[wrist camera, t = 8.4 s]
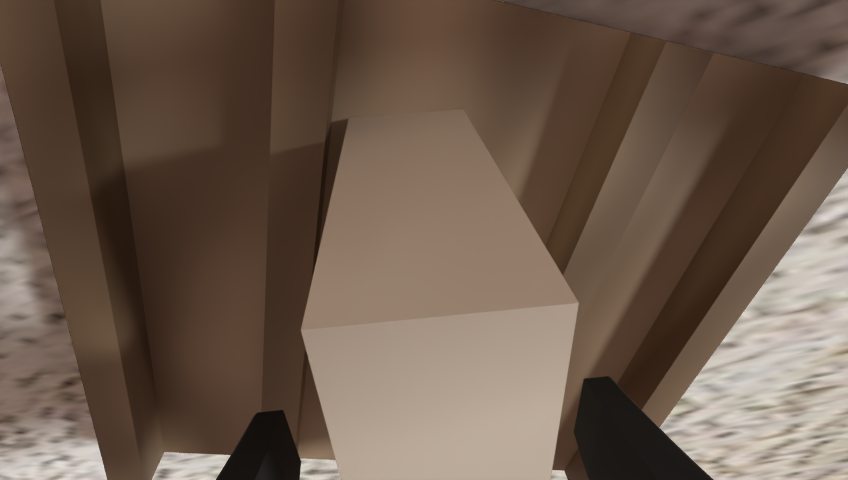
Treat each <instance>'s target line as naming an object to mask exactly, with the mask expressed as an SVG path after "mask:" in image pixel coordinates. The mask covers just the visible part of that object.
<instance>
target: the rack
mask: <svg viewBox="0 0 848 480" xmlns="http://www.w3.org/2000/svg"><path fill="white" fill-rule="evenodd" d="M0 63H1V67H2V70H3V74H4V78H5V82H6V86H7V90H8V94H9V98H10V102H11V106H12V109H13V113H14V117H15V121H16V125H17V129H18V133H19V137H20V141H21V145H22V148H23V152H24V156H25V160H26V164H27V168H28V172H29V176H30V180H31V183H32V187H33V191H34V195H35V199H36V203H37V207H38V211H39V215H40V219H41V222H42V226H43V230H44V234H45V238H46V242H47V246H48V250H49V254H50V258H51V261H52V265H53V269H54V273H55V277H56V281H57V285H58V289H59V293H60V297H61V300H62V304H63V308H64V312H65V316H66V320H67V324H68V328H69V332H70V336H71V339H72V343H73V347H74V351H75V355H76V359H77V363H78V367H79V371H80V374H81V378H82V382H83V386H84V390H85V394H86V398H87V402H88V406H89V410H90V413H91V417H92V421H93V425H94V429H95V433H96V437H97V441H98V445H99V449H100V452H101V456H102V460H103V464H104V468H105V472H106V476H107V480H152V477H153V475H154V473H155V471H156V469H157V466H158V464H159V462H160V460H161V458H162V455H163V453H164V452H179V453H200V454H222V455H231V454H232V453H233V451H234V449H235V448H236V446H237V444H238V442H239V441H240V439H241V437H242V436H243V434H244V432H245V430H246V429H247V427H248V425H249V423H250V422H251V420H252V418H253V416H254V415H255V414H256V413H257V412H267V411H276V410H284V413H285V416H286V419H287V422H288V425H289V428H290V431H291V434H292V437H293V440H294V443H295V446H296V449H297V451H298V454H299V457H300V458H308V459H329V460H336V459H335V455H334V451H333V448H332V444H331V440H330V437H329V433H328V429H327V426H326V422H325V418H324V414H323V411H322V407H321V403H320V400H319V396H318V392H317V388H316V385H315V381H314V377H313V374H312V370H311V366H310V362H309V359H308V355H307V351H306V348H305V344H304V340H303V336H302V333H301V327H302V323H303V318H304V314H305V309H306V305H307V301H308V296H309V292H310V287H311V283H312V279H313V274H314V270H315V265H316V261H317V257H318V252H319V248H320V243H321V239H322V235H323V230H324V226H325V221H326V217H327V212H328V208H329V204H330V199H331V195H332V190H333V186H334V182H335V177H336V173H337V168H338V164H339V160H340V155H341V151H342V146H343V142H344V137H345V133H346V129H347V124H348V120H349V118H359V117H371V116H384V115H396V114H409V113H422V112H434V111H447V110H459V109H463V110H464V111H465V113H466V115H467V116H468V118H469V120H470V121H471V123H472V125H473V126H474V128H475V130H476V131H477V133H478V135H479V136H480V138H481V140H482V141H483V143H484V145H485V146H486V148H487V150H488V151H489V153H490V155H491V156H492V158H493V160H494V162H495V163H496V165H497V167H498V168H499V170H500V172H501V173H502V175H503V177H504V178H505V180H506V182H507V183H508V185H509V187H510V188H511V190H512V192H513V193H514V195H515V197H516V198H517V200H518V202H519V203H520V205H521V207H522V208H523V210H524V212H525V213H526V215H527V217H528V218H529V220H530V222H531V224H532V225H533V227H534V229H535V230H536V232H537V234H538V235H539V237H540V239H541V240H542V242H543V244H544V245H545V247H546V249H547V250H548V252H549V254H550V255H551V257H552V259H553V260H554V262H555V264H556V265H557V267H558V269H559V270H560V272H561V274H562V275H563V277H564V279H565V280H566V282H567V284H568V286H569V287H570V289H571V291H572V292H573V294H574V296H575V297H576V299H577V301H578V302H579V305H578V311H577V318H576V324H575V330H574V336H573V343H572V349H571V355H570V361H569V368H568V374H567V380H566V386H565V393H564V399H563V405H562V411H561V417H560V424H559V430H558V436H557V442H556V449H555V455H554V461H553V467H552V470H565V473H566V476H567V479H568V480H589V478H588V476H587V473H586V470H585V467H584V464H583V461H582V458H581V454H580V451H579V448H578V445H577V441H576V438H575V435H574V427H575V422H576V417H577V412H578V406H579V401H580V396H581V391H582V385H583V380H584V379H585V378H595V377H605V376H609V377H610V378H611V379H613V381H614V382H615V383H616V384H617V385H618V386H619V387H620V388H621V389H622V390H623V391H624V392H625V393H626V394H627V395H628V396H629V397H630V398H631V399H632V400H633V401H634V403H635V404H636V405H637V406H638V407H639V408H640V409H641V410H642V411H643V412H644V413H645V414H646V415H647V416H648V417H649V418H650V419H651V420H652V421H653V422H654V423H655V424H656V425H657V426H658V427H660V426H661V425H662V423H663V422H664V420H665V419H666V418H667V416H668V415H669V414H670V412H671V411H672V409H673V408H674V407H675V405H676V404H677V402H678V401H679V400H680V398H681V397H682V396H683V394H684V393H685V391H686V390H687V389H688V387H689V386H690V385H691V383H692V382H693V380H694V379H695V378H696V376H697V375H698V374H699V372H700V371H701V369H702V368H703V367H704V365H705V364H706V363H707V361H708V360H709V358H710V357H711V356H712V354H713V353H714V351H715V350H716V349H717V347H718V346H719V345H720V343H721V342H722V340H723V339H724V338H725V336H726V335H727V334H728V332H729V331H730V329H731V328H732V327H733V325H734V324H735V323H736V321H737V320H738V318H739V317H740V316H741V314H742V313H743V311H744V310H745V309H746V307H747V306H748V305H749V303H750V302H751V300H752V299H753V298H754V296H755V295H756V294H757V292H758V291H759V289H760V288H761V287H762V285H763V284H764V283H765V281H766V280H767V278H768V277H769V276H770V274H771V273H772V272H773V270H774V269H775V267H776V266H777V265H778V263H779V262H780V260H781V259H782V258H783V256H784V255H785V254H786V252H787V251H788V249H789V248H790V247H791V245H792V244H793V243H794V241H795V240H796V238H797V237H798V236H799V234H800V233H801V232H802V230H803V229H804V227H805V226H806V225H807V223H808V222H809V221H810V219H811V218H812V216H813V215H814V214H815V212H816V211H817V209H818V208H819V207H820V205H821V204H822V203H823V201H824V200H825V198H826V197H827V196H828V194H829V193H830V192H831V190H832V189H833V187H834V186H835V185H836V183H837V182H838V181H839V179H840V178H841V176H842V175H843V174H844V172H845V171H846V169H847V168H848V84H844V83H840V82H836V81H832V80H828V79H824V78H819V77H815V76H811V75H807V74H803V73H798V72H794V71H790V70H786V69H782V68H778V67H773V66H769V65H765V64H761V63H757V62H752V61H748V60H744V59H740V58H736V57H731V56H727V55H723V54H719V53H715V52H710V51H706V50H702V49H698V48H694V47H689V46H685V45H681V44H677V43H673V42H669V41H664V40H660V39H656V38H652V37H648V36H643V35H639V34H635V33H631V32H627V31H622V30H618V29H614V28H610V27H606V26H601V25H597V24H593V23H589V22H585V21H581V20H576V19H572V18H568V17H564V16H560V15H555V14H551V13H547V12H543V11H539V10H534V9H530V8H526V7H522V6H518V5H513V4H509V3H505V2H501V1H497V0H0Z"/></svg>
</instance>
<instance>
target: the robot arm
mask: <svg viewBox="0 0 848 480" xmlns="http://www.w3.org/2000/svg"><path fill="white" fill-rule="evenodd" d="M574 435H575V438H576V441H577V445H578V448H579V451H580V454H581V458H582V461H583V464H584V467H585V470H586V473H587V476H588V478H589V480H713V479H712V478H711V477H710V476H709V475H708V474H707V473H706V472H705V471H703V470H702V469H701V468H700V467H699V466H698V465H697V464H696V463H695V462H694V461H693V460H692V459H691V458H690V457H689V456H688V455H687V454H686V453H684V452H683V451H682V450H681V449H680V448H679V447H678V446H677V445H676V444H675V443H674V442H673V441H672V440H671V439H670V438H669V437H668V436H667V435H666V434H665V433H664V432H663V431H662V430H661V429H660V428H659V427H658V426H657V425H656V424H655V423H654V422H653V421H652V420H651V419H650V418H649V417H648V416H647V415H646V414H645V413H644V412H643V411H642V410H641V409H640V408H639V407H638V406H637V405H636V404H635V403H634V401H633V400H632V399H631V398H630V397H629V396H628V395H627V394H626V393H625V392H624V391H623V390H622V389H621V388H620V387H619V386H618V385H617V384H616V383H615V382H614V381H613V379H611V378H610V377H609V376H605V377H595V378H585V379H584V380H583V385H582V391H581V396H580V401H579V406H578V412H577V417H576V422H575V427H574ZM300 466H301V460H300V457H299V454H298V451H297V449H296V446H295V443H294V440H293V437H292V434H291V431H290V428H289V425H288V422H287V419H286V416H285V413H284V410H276V411H267V412H257V413H256V414H255V415H254V416H253V418H252V420H251V422H250V423H249V425H248V427H247V429H246V430H245V432H244V434H243V436H242V437H241V439H240V441H239V442H238V444H237V446H236V448H235V449H234V451H233V453H232V454H231V456H230V458H229V459H228V461H227V463H226V464H225V466H224V467H223V469H222V471H221V472H220V474H219V476H218V477H217V479H216V480H299V478H300Z"/></svg>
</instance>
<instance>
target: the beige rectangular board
mask: <svg viewBox="0 0 848 480" xmlns="http://www.w3.org/2000/svg"><path fill="white" fill-rule="evenodd" d="M578 305H579V302H578V301H577V299H576V297H575V296H574V294H573V292H572V291H571V289H570V287H569V286H568V284H567V282H566V280H565V279H564V277H563V275H562V274H561V272H560V270H559V269H558V267H557V265H556V264H555V262H554V260H553V259H552V257H551V255H550V254H549V252H548V250H547V249H546V247H545V245H544V244H543V242H542V240H541V239H540V237H539V235H538V234H537V232H536V230H535V229H534V227H533V225H532V224H531V222H530V220H529V218H528V217H527V215H526V213H525V212H524V210H523V208H522V207H521V205H520V203H519V202H518V200H517V198H516V197H515V195H514V193H513V192H512V190H511V188H510V187H509V185H508V183H507V182H506V180H505V178H504V177H503V175H502V173H501V172H500V170H499V168H498V167H497V165H496V163H495V162H494V160H493V158H492V156H491V155H490V153H489V151H488V150H487V148H486V146H485V145H484V143H483V141H482V140H481V138H480V136H479V135H478V133H477V131H476V130H475V128H474V126H473V125H472V123H471V121H470V120H469V118H468V116H467V115H466V113H465V111H464V110H463V109H459V110H447V111H434V112H422V113H409V114H396V115H384V116H371V117H359V118H349V120H348V124H347V129H346V133H345V137H344V142H343V146H342V151H341V155H340V160H339V164H338V168H337V173H336V177H335V182H334V186H333V190H332V195H331V199H330V204H329V208H328V212H327V217H326V221H325V226H324V230H323V235H322V239H321V243H320V248H319V252H318V257H317V261H316V265H315V270H314V274H313V279H312V283H311V287H310V292H309V296H308V301H307V305H306V309H305V314H304V318H303V323H302V327H301V333H302V336H303V340H304V344H305V348H306V351H307V355H308V359H309V362H310V366H311V370H312V374H313V377H314V381H315V385H316V388H317V392H318V396H319V400H320V403H321V407H322V411H323V414H324V418H325V422H326V426H327V429H328V433H329V437H330V440H331V444H332V448H333V451H334V455H335V459H336V463H337V466H338V470H339V474H340V477H341V480H551V474H552V467H553V461H554V455H555V449H556V442H557V436H558V430H559V424H560V417H561V411H562V405H563V399H564V393H565V386H566V380H567V374H568V368H569V361H570V355H571V349H572V343H573V336H574V330H575V324H576V318H577V311H578Z"/></svg>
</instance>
